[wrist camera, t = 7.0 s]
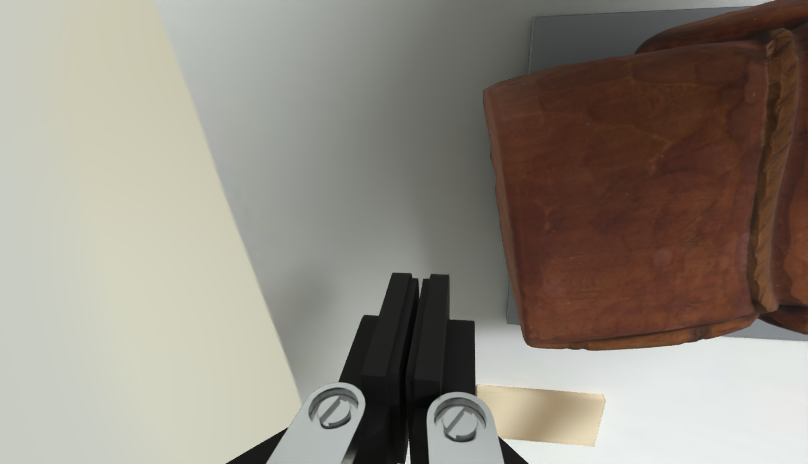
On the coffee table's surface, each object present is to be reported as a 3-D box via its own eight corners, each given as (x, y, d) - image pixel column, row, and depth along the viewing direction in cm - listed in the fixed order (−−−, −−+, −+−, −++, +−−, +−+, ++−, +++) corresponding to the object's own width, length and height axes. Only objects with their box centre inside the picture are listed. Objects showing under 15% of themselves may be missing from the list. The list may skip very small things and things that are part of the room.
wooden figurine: (510, 294, 22) (902, 239, 19) (530, 378, 17) (1100, 321, 13) (474, 71, 18) (973, -54, 15) (483, 80, 12) (1316, -124, 9)
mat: (532, 17, 17) (534, 16, 17) (1083, -11, 14) (1107, -12, 14) (506, 317, 24) (507, 323, 24) (870, 337, 22) (881, 345, 21)
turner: (340, 417, 31) (337, 428, 30) (333, 374, 29) (329, 385, 28) (591, 438, 28) (595, 452, 27) (602, 393, 26) (607, 406, 25)
